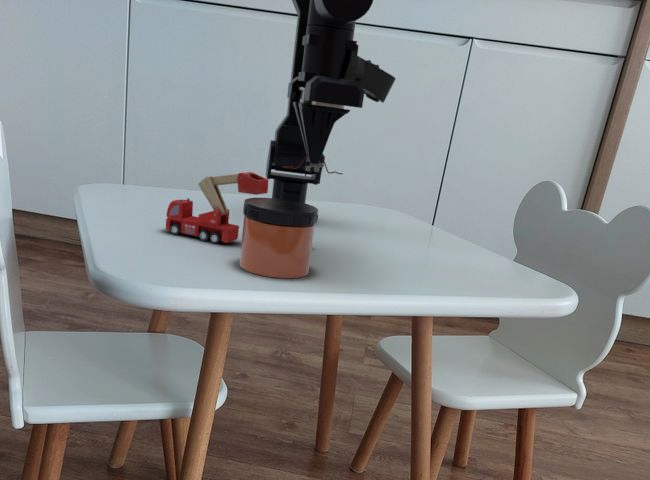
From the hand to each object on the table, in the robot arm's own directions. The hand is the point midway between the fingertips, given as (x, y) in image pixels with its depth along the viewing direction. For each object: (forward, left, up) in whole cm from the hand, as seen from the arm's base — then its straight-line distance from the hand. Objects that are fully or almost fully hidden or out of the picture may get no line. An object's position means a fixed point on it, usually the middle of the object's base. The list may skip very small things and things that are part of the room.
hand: (313, 163), depth 87 cm
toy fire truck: (-4, -12, -12) cm, 17 cm away
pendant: (-1, 0, -1) cm, 2 cm away
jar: (+8, -5, -12) cm, 15 cm away
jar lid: (+8, -5, -5) cm, 11 cm away
